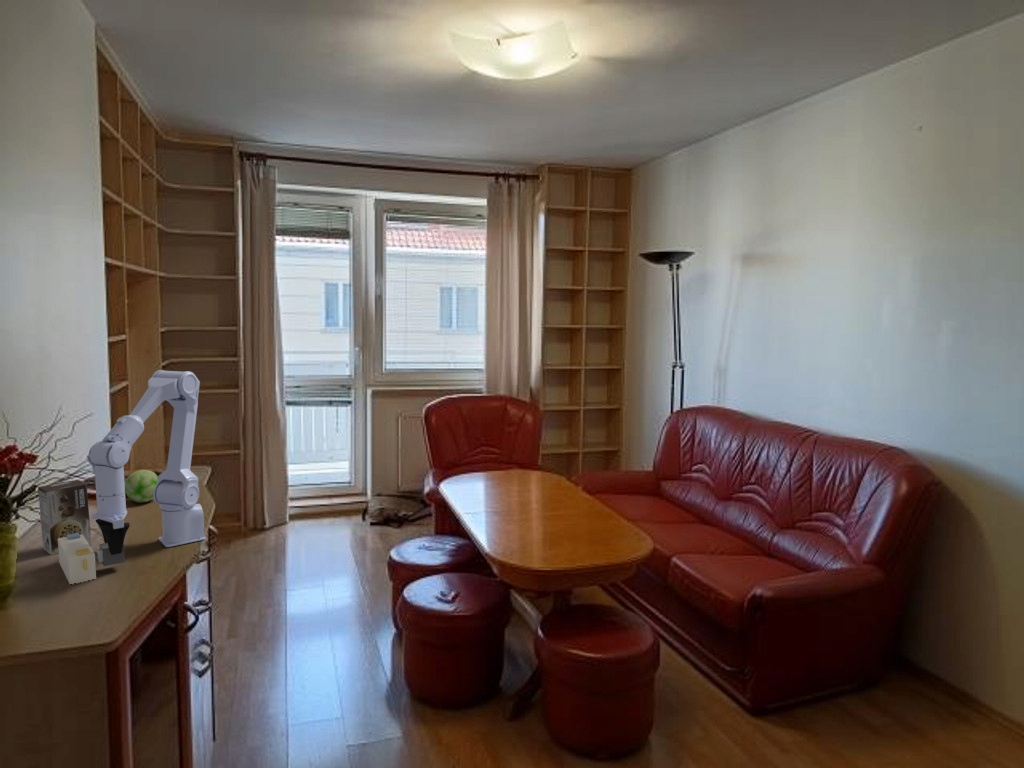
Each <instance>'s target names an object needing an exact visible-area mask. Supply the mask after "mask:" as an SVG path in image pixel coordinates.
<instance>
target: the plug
mask: <svg viewBox="0 0 1024 768" xmlns="http://www.w3.org/2000/svg"><path fill="white" fill-rule="evenodd" d="M125 556H126V555H125V544H124V543H123V549H122V553H119V554H114V555H111V553H110V551H109V547H108V543H105V542H103V543H99V548H96V557H97V561H98V563H102V565H103V566H104V567H106V566H110V565H116V564H120V563H125V562H126V557H125Z"/></svg>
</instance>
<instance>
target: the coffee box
mask: <svg viewBox="0 0 1024 768" xmlns="http://www.w3.org/2000/svg"><path fill="white" fill-rule="evenodd" d="M87 485H88V484H87V483H85V482H83V481H81V480H80V479H74V480H68V481H62V482H57V483H52V484H47V485H42V486H38V487H37V490H38V491H37V492H38V502H39V517H40V525H41V526H40V527H41V538H42V550H44V551H45V552H47V553H48V554H49V555H52V556H54V555H59V550H58V538H64V537H67V535H69V534H74V533H79V534H83V536H84V537H85V539H86V541H87V542H88V544H89V545H90V546H92V544H93V543H92V531H91V521H90V511H89V510H90V509H89V508H90V507H89V499H88V497H89V496H88V486H87Z"/></svg>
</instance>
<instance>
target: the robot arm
mask: <svg viewBox="0 0 1024 768" xmlns="http://www.w3.org/2000/svg"><path fill="white" fill-rule="evenodd" d="M200 384H201V381H200V380H199V379H198V377H197V376H196V374H195V373H194V372H192V371H190V370H189V371H188V370H187V371H180V370H179V371H177V370H176V371H174V370H163V369H159V370H156V371H155V372H153V374H152V376H151V377H150V378H149V379H148V380H147V387H148V388H147V389H146V391H145V392H144V393H143V395H142V397H141V398H140V399H139V401H138V402H137V404H136V405H135V407H134V408H133V410H132V411H131V412H130V414H129V415H122V416H120V417H118V419H116V423H115V424H114V425H113V427H112V428H111V429H110V430H109V432H108V433H107V434H106V435H105V436H104V437H103V439H102V441H101V440H99V441H98V442H96V443H94V444H93V445H92V446H90V449H89V451H88V455H86V460H87V462H88V463H89V465H91V468H92V469H91V470H92V473H93V474H94V479H95V480H94V483H95V496H96V511H97V512H96V513H92V514H91V515H90V516H91V520H95V522H96V524H97V525H98V527H99V529H100V531H101V534H102V537H103V542H104V543H108V547H109V551H110V553H111V555H114V554H119V553H122V549H123V544H124V543H125V538H126V534H127V533H128V530H129V528H130V527H131V526H130V525H131V524H130V522H128V521H127V522H124V521H125V520H124V519H125V518H126V516H127V515H128V509H127V504H126V492H125V469H124V466H125V465H126V464H127V463H128V462H129V459H130V455H131V451H132V447H133V445H134V444H135V443H136V441H137V440H138V439H139V437H140V436H141V434H143V432H144V431H145V424H144V423H145V422H146V421H147V419H148V418H149V417H150V416H151V415H152V414H153V413H154V411H156V409H157V408H158V407H160V405H161V404H162V403H163V402H165V401H166V402H168V403H169V405H171V406H172V407H173V417H172V422H171V423H172V424H171V432H170V439H169V447H168V448H169V450H168V455H167V456H168V457H167V465H166V469H165V470H163V471H162V473H160V474H158V475H157V476H158V481H157V484H156V486H155V488H154V491H153V497H154V498H153V500H154V502H155V503H157V505H158V509H161V525H162V536H159V537H158V538H157V539H158V540H159V541H160V543H161V544H162V545H163V546H164V547H165V548H170V547H174V546H175V547H176V546H180V545H184V544H190V543H193V542H194V543H195V542H199V541H205V540H206V537H205V521H204V518H205V515H204V509H203V508H202V505H201V504H200V503H197V502H198V500H199V497H200V488H199V478H198V476H197V475H196V474H194V472H193V471H191V465H192V457H193V447H194V442H195V441H194V439H195V432H196V423H197V413H198V405H199V402H198V401H199V392H200Z"/></svg>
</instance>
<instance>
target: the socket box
mask: <svg viewBox="0 0 1024 768" xmlns="http://www.w3.org/2000/svg"><path fill="white" fill-rule="evenodd" d="M58 550H59V553H58V561H59V562H58V563H59V565H60V567H61V569H62V571H63V573H64V575H65V578H66V580H67V581H68V584H69V585H70V584H72V585H75V584H74V583H76V584H80V582H81V583H84V581H85V582H89V581H88V580H90V581H93V580H92V579H95V580H97V572H96V571H97V570H96V555H95V551H94V550H93V548H92V547H91V545H89V544H88V542H87V541H86V539H85V537H84V536H83V534H79V533H74V534H69V535H67V537H64V538H58Z"/></svg>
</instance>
